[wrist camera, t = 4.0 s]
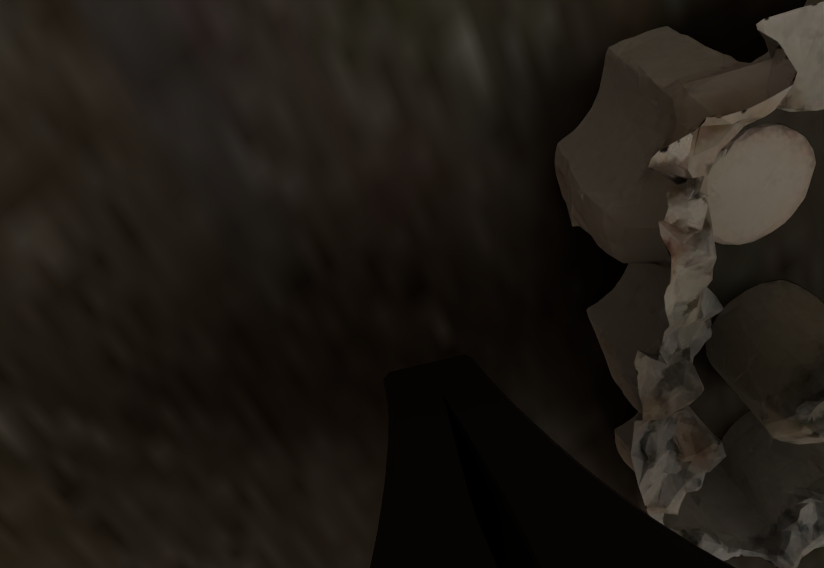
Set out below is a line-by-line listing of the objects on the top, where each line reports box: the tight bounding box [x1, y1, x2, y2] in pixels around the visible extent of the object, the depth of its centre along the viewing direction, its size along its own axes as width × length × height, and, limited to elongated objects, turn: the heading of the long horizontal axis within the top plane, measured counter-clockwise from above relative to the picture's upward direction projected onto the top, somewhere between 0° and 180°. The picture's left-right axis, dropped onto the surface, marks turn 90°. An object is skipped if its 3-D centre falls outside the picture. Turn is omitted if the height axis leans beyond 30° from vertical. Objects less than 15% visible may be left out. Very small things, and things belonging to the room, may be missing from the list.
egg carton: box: [554, 0, 824, 568], centre depth 12 cm, size 11×8×4 cm
